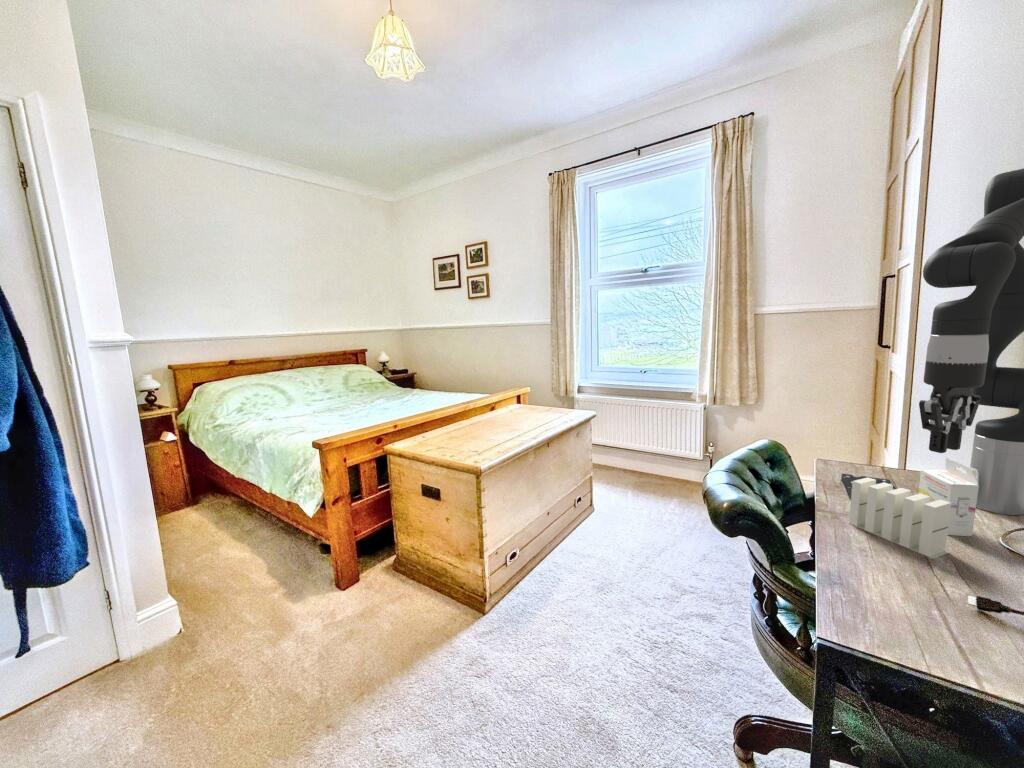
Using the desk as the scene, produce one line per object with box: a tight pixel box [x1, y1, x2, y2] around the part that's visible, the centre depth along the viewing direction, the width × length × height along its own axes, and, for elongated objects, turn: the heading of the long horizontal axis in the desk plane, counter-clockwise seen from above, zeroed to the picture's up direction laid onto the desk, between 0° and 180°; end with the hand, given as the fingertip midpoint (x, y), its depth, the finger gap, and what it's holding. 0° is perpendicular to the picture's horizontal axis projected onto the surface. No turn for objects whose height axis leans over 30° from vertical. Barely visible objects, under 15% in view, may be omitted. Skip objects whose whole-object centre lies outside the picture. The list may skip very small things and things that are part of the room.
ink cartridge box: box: [917, 457, 979, 537], centre depth 87 cm, size 9×5×15 cm, turn 168°
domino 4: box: [898, 493, 930, 549], centre depth 81 cm, size 5×2×10 cm, turn 108°
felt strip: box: [846, 521, 950, 559], centre depth 84 cm, size 5×15×1 cm, turn 18°
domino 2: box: [864, 482, 894, 534], centre depth 87 cm, size 5×2×10 cm, turn 108°
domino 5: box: [917, 500, 951, 557], centre depth 78 cm, size 5×2×10 cm, turn 108°
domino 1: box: [848, 477, 876, 527], centre depth 90 cm, size 5×2×10 cm, turn 108°
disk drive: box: [840, 473, 897, 501], centre depth 105 cm, size 10×3×15 cm
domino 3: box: [881, 487, 912, 541], centre depth 84 cm, size 5×2×10 cm, turn 108°
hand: (944, 449), depth 76 cm, fingers open, 3 cm apart
